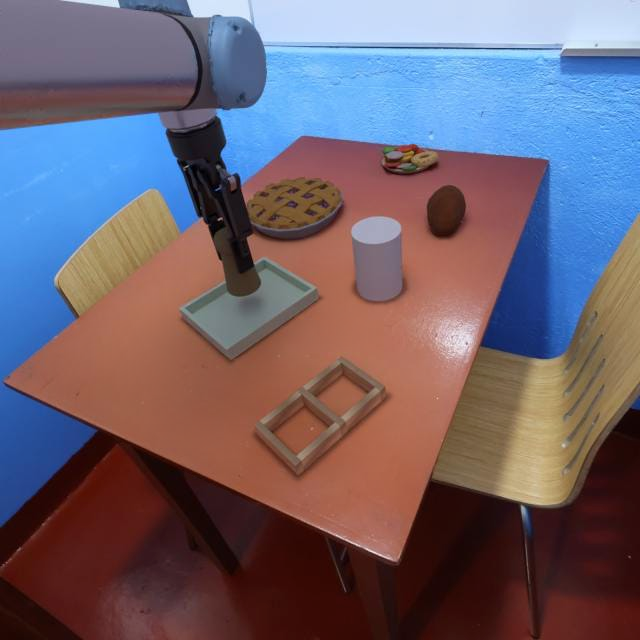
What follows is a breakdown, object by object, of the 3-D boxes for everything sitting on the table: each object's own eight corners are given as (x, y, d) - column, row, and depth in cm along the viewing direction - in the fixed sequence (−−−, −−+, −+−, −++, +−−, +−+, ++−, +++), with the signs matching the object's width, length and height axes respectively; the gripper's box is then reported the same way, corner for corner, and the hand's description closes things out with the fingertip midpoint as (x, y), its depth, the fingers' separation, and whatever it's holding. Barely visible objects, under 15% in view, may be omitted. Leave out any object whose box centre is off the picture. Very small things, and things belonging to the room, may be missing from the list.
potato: (420, 238, 94) (420, 203, 88) (431, 208, 101) (432, 174, 96) (459, 241, 91) (462, 205, 86) (467, 211, 99) (470, 175, 93)
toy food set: (443, 169, 114) (444, 156, 111) (391, 181, 113) (390, 169, 110) (422, 148, 123) (422, 136, 121) (374, 159, 122) (373, 147, 120)
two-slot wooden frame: (298, 476, 60) (295, 466, 58) (257, 435, 65) (253, 425, 63) (386, 397, 67) (385, 386, 65) (343, 366, 72) (341, 355, 70)
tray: (230, 360, 76) (226, 349, 74) (183, 318, 86) (178, 308, 84) (319, 298, 85) (317, 287, 83) (267, 266, 94) (264, 256, 92)
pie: (302, 253, 96) (298, 232, 92) (229, 228, 107) (223, 209, 103) (362, 203, 107) (360, 183, 104) (290, 185, 118) (286, 166, 115)
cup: (411, 288, 83) (411, 230, 75) (373, 307, 81) (369, 250, 73) (384, 267, 89) (381, 211, 81) (348, 284, 86) (341, 228, 78)
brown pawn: (268, 279, 82) (253, 225, 74) (245, 300, 78) (227, 246, 71) (242, 271, 85) (226, 218, 77) (220, 290, 81) (200, 237, 74)
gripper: (254, 124, 59) (288, 272, 74) (182, 101, 70) (225, 234, 85) (203, 147, 55) (250, 296, 71) (136, 119, 66) (189, 254, 82)
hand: (236, 262), depth 78 cm, fingers closed on brown pawn, 5 cm apart
